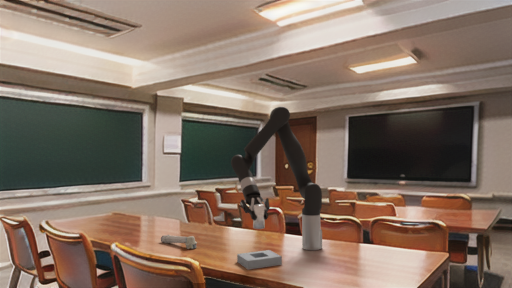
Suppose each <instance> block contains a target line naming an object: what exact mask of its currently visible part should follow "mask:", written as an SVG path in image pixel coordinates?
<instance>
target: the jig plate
mask: <svg viewBox="0 0 512 288" xmlns="http://www.w3.org/2000/svg"><path fill="white" fill-rule="evenodd" d="M236 261H237V263H238V264H239V265H241V266H242V267H244V268H245V269H246V270H254V269H261V268H269V267H274V266H275V267H276V266H282V265H283V257H282V255H279V254H278V253H276V252H274V251H272V250H271V249H267V250H259V251H258V250H257V251H251V252H250V251H249V252H244V253H243V252H242V253H237V254H236Z"/></svg>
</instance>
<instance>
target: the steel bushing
mask: <svg viewBox="0 0 512 288" xmlns="http://www.w3.org/2000/svg"><path fill="white" fill-rule="evenodd" d="M263 204H264V203H263ZM263 204H255V205H253V211H254V212H255V215H256V220H255V221H253V220H252V222H253V223H252V228H253V229H255V230H262V229H266V228H265V224H266V223H265V204H264V205H263Z"/></svg>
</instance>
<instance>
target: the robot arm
mask: <svg viewBox="0 0 512 288" xmlns="http://www.w3.org/2000/svg"><path fill="white" fill-rule="evenodd" d="M290 117H291V113H290V110H289V109H288V108H287V107H285V106H277V107H275V108H274V109H272V110H271V112H270V114H269V119H268V120H267V122H266V124H265V125H264V126H263V127H262V129H260V130H259V131H258V132H257V133H256V134H255V135H254V137H253V138H252V139H251V140H250V141H249V142H248V143H247V144H246V146H245V147H244V149H243V150H244V153H245V156H242V155H241V154H235V155H233V156H232V157H231V161H230V165H231V167H232V170H233V172H234V173H235V175H236V177H237V179H238V181H239V184H240V190H241V193H242V194H243V197H244V199H241V200H240V203H239V205H240V206H241V208H242V209H243V211H244V213H245V214H249V215H250V218H251V220H252V222H253V221H255V220H256V215H255V212H254V211H253V205H255V204H263V205H265V220H268V218H269V214H268V212H269V210H270V209H271V208H270V200H269V198H268V197H267V198H263V197H262V196H261V192H260V190H259V189H260V188H259V187H258V185H257V182H256V180H255V179H254V175H253V173H252V170H250V169H251V168H252V166H253V164H254V162H255V159H256V157H257V156H258V154H259V153H260V152H261V151H262V149H263V148H264V147H265V146H266V144H267V143H268V142H269V141H270V140H271V138H272V137H273V136H274V135H275V134H276V133H277V135H278V137H279V140H280V144H281V147H282V150H283V152H284V154H285V157H286V160H287V162H288V164H289V166H290V169H291V171H292V174H293V175H294V178H295V181H296V184H297V188H298V191H299V195H300V196H301V198H302V199H303V200H304V206H303V208H301V209H302V210H301V220H302V221H301V232H302V234H301V235H302V236H301V240H302V241H301V243H302V245H301V246H302V247H301V248H302V249H304V250H307V251H318V250H321V249H323V230H322V229H321V210H322V203H323V192H322V188H321V186H320V184H319V185H318V184H317V183H313V181H312V179H311V177H310V175H309V172H308V165H307V164H308V163H307V158H306V154H305V152H304V149H303V147H302V144H301V143H300V141H299V140H298V139H297V137H296V135H295V134H294V133H293V131H292V128H291V126H290V123H289V120H290V119H291V118H290ZM248 206H249V207H248Z"/></svg>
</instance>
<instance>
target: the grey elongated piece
mask: <svg viewBox="0 0 512 288" xmlns="http://www.w3.org/2000/svg"><path fill="white" fill-rule="evenodd" d="M160 242H161V243H162V242H163V243H164V244H184V245H185V249H186V250H189V249H191V250H192V249H193V250H194V249H196V248H197V244H198V242H197V241H196V238H195V236H194V235H191V236H180V235H170V234H167V235H162V236H161V238H160Z"/></svg>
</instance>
